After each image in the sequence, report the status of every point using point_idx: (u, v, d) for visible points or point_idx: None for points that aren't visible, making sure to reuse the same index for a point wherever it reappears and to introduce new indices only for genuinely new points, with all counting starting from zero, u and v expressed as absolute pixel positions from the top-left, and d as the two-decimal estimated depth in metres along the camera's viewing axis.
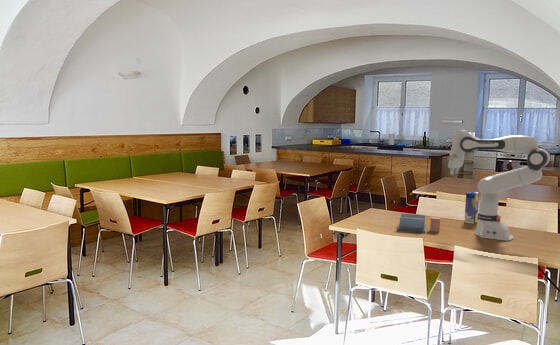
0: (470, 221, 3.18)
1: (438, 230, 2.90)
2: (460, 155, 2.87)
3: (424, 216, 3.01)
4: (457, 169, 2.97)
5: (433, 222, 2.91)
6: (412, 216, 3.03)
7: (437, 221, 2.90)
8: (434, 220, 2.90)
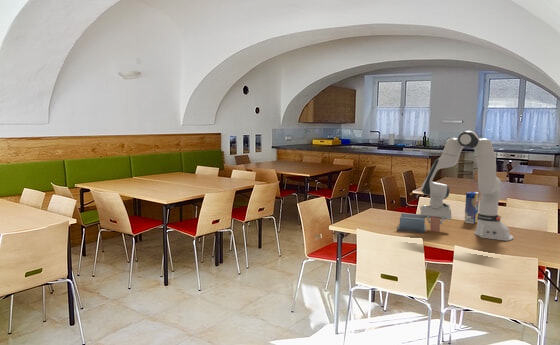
0: (470, 221, 3.18)
1: (438, 230, 2.90)
2: (431, 204, 2.98)
3: None
4: None
5: (433, 222, 2.91)
6: (412, 216, 3.03)
7: (437, 221, 2.90)
8: (434, 220, 2.90)
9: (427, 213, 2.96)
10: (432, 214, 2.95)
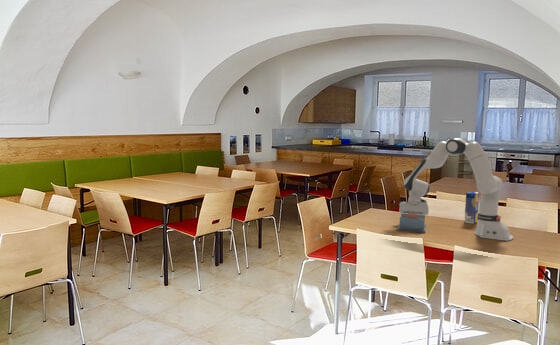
0: (470, 221, 3.18)
1: None
2: (410, 200, 3.12)
3: (424, 216, 3.00)
4: None
5: None
6: None
7: (414, 217, 2.95)
8: (411, 216, 2.95)
9: (405, 208, 3.09)
10: (410, 209, 3.08)
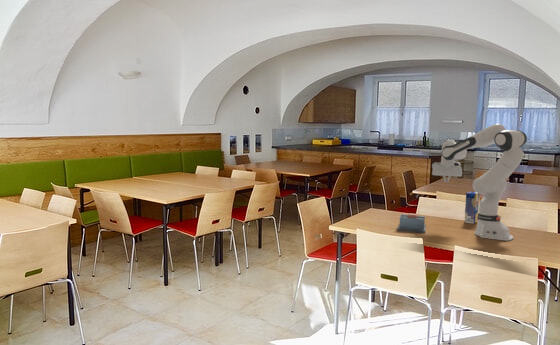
0: (470, 221, 3.18)
1: None
2: (443, 163, 3.06)
3: (424, 217, 2.96)
4: (448, 178, 3.08)
5: None
6: None
7: (414, 217, 2.94)
8: (411, 216, 2.94)
9: (439, 173, 3.09)
10: (443, 174, 3.08)
